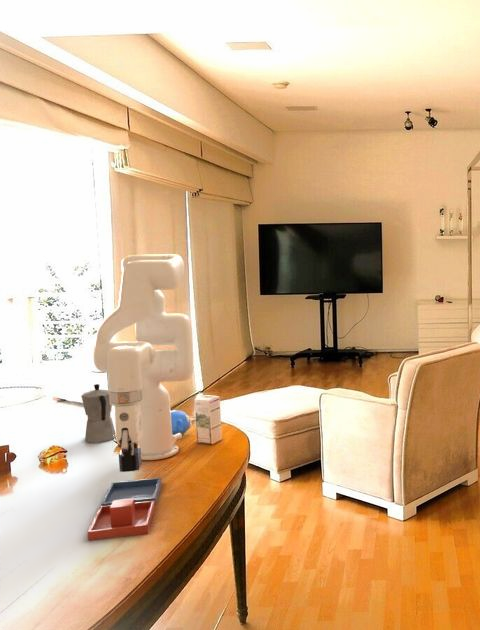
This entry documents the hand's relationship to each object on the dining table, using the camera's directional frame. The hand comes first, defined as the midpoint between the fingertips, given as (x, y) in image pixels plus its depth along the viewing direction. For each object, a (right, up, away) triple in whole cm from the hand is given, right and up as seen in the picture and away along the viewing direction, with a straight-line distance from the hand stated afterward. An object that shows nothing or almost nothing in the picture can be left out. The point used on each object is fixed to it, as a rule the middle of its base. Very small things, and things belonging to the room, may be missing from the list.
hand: (130, 466), depth 170 cm
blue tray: (0, -8, +1) cm, 8 cm away
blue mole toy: (-6, -1, +53) cm, 53 cm away
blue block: (0, 0, 0) cm, 0 cm away
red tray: (+4, -10, -14) cm, 17 cm away
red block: (+4, -10, -14) cm, 17 cm away
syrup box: (+6, -2, +46) cm, 46 cm away
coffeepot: (-30, -2, +49) cm, 57 cm away
